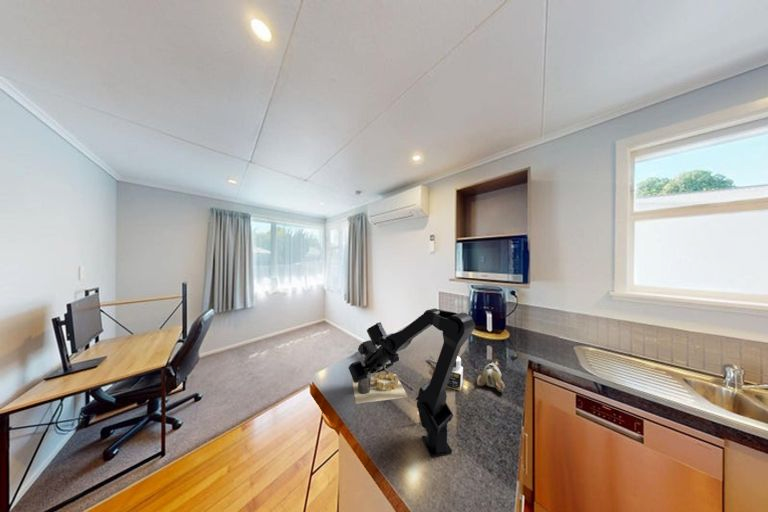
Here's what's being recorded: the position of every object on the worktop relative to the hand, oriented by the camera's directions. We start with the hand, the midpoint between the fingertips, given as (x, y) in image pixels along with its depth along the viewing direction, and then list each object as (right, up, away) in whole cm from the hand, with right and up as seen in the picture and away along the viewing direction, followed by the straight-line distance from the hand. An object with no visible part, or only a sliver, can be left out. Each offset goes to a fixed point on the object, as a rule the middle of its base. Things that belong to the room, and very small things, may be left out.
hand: (362, 374), depth 85 cm
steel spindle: (+1, -5, -1) cm, 6 cm away
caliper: (+36, -8, +19) cm, 42 cm away
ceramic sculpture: (+56, -9, +7) cm, 57 cm away
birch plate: (+6, -7, +1) cm, 9 cm away
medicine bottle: (+39, -8, +7) cm, 40 cm away
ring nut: (+9, -6, +3) cm, 12 cm away
